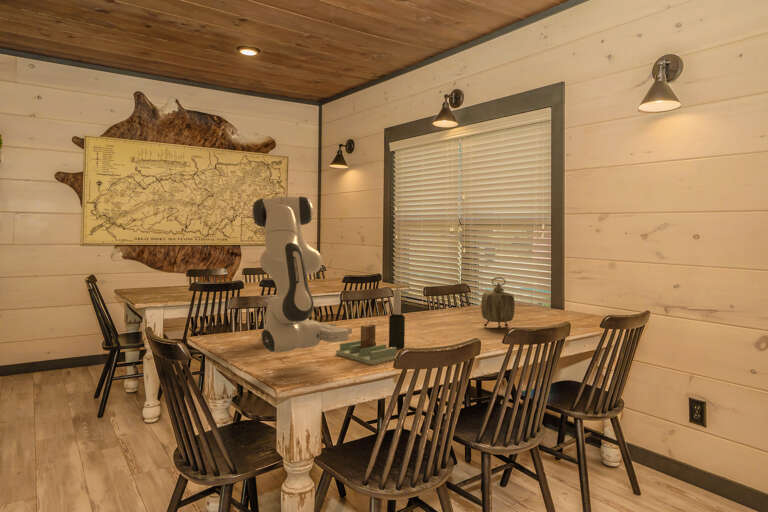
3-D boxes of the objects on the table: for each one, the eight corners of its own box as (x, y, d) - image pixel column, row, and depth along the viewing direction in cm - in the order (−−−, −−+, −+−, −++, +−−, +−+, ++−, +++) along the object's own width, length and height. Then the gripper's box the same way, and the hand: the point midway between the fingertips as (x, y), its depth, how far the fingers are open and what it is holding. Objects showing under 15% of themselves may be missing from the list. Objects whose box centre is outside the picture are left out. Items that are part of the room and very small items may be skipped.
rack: (371, 365, 167) (371, 353, 167) (336, 354, 182) (336, 343, 182) (400, 358, 177) (400, 347, 177) (364, 348, 192) (364, 338, 191)
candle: (396, 345, 198) (397, 284, 197) (405, 347, 194) (406, 285, 193) (387, 347, 194) (388, 285, 193) (396, 349, 191) (397, 286, 190)
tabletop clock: (508, 326, 243) (509, 276, 242) (515, 329, 234) (516, 278, 233) (480, 326, 241) (481, 276, 240) (486, 330, 232) (487, 278, 231)
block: (364, 353, 177) (365, 326, 176) (360, 352, 179) (360, 325, 178) (375, 351, 180) (375, 325, 180) (370, 350, 182) (371, 324, 182)
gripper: (327, 329, 154) (361, 324, 163) (293, 319, 169) (325, 315, 178) (327, 349, 154) (360, 342, 164) (293, 337, 169) (325, 332, 179)
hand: (342, 328), depth 171 cm, fingers open, 8 cm apart
